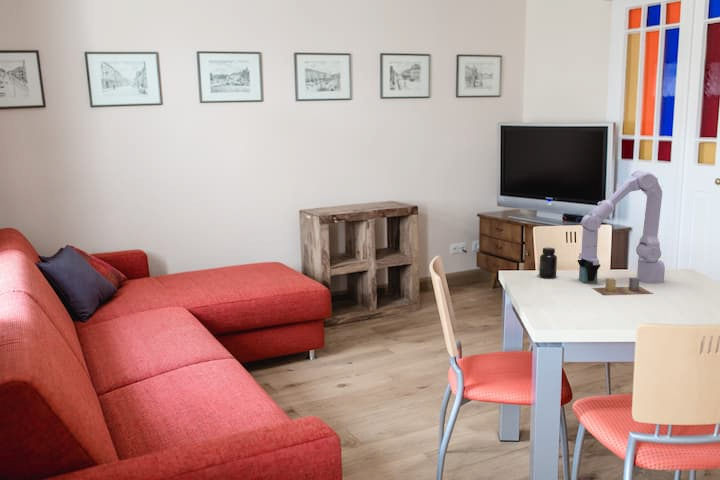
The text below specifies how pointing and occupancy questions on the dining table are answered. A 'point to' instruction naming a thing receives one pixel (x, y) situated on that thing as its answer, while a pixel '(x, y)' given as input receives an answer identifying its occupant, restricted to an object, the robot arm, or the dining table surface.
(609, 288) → the tan wooden block
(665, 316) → the dining table surface
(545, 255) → the supplement bottle
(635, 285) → the steel post
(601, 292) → the base board
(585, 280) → the teal foam cube
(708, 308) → the dining table surface
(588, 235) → the robot arm
